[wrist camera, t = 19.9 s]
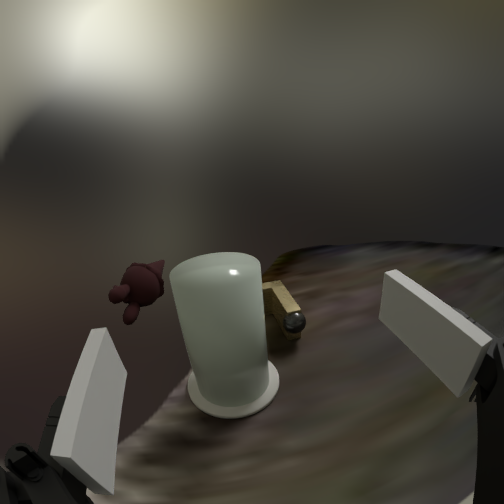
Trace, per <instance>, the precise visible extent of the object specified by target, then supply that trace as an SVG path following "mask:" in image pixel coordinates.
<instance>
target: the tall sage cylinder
mask: <svg viewBox="0 0 504 504" xmlns="http://www.w3.org/2000/svg"><path fill="white" fill-rule="evenodd" d="M170 282H171V287H172V291H173V296H174V300H175V304H176V308H177V312H178V317H179V321H180V325H181V329H182V332H183V336H184V340H185V344H186V348H187V351H188V355H189V358H190V362H191V365H192V369H193V372H194V376H195V379H196V382H197V386H198V389H199V391H200V393H201V395H202V396H203V397H204V398H205V399H206V400H207V401H209V402H211V403H213V404H215V405H218V406H223V407H237V406H242V405H246V404H249V403H251V402H253V401H255V400H256V399H258V398H259V397H260V396H262V395H263V393H264V392H265V391H266V389H267V387H268V385H269V368H268V355H267V342H266V329H265V317H264V304H263V292H262V279H261V268H260V262H259V261H258V260H257V259H256V258H254V257H253V256H250V255H247V254H243V253H236V252H220V253H212V254H206V255H201V256H198V257H194V258H191V259H189V260H186V261H184V262H182V263H180V264H179V265H177V266H176V267H175V268H174V269H173V270H172V271H171V273H170Z"/></svg>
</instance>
